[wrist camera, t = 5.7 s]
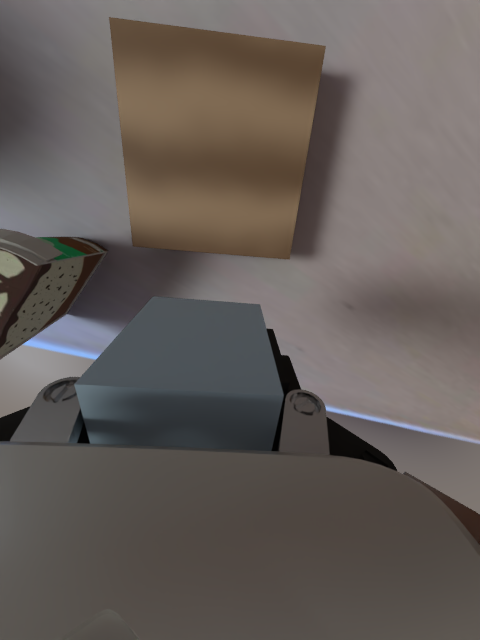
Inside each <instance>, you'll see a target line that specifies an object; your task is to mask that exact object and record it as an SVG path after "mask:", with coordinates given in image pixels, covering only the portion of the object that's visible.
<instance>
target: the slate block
mask: <svg viewBox="0 0 480 640" xmlns="http://www.w3.org/2000/svg"><path fill="white" fill-rule="evenodd" d="M74 386H75V389H76V393H77V397H78V400H79V404H80V408H81V411H82V415H83V419H84V422H85V426H86V430H87V433H88V437H89V441H90V444H113V445H140V446H165V447H190V448H213V449H235V450H257V451H271V450H272V446H273V441H274V437H275V432H276V428H277V424H278V419H279V415H280V410H281V406H282V401H283V397H284V395H283V391H282V387H281V383H280V379H279V375H278V372H277V368H276V364H275V360H274V356H273V353H272V349H271V345H270V341H269V337H268V333H267V330H266V326H265V322H264V318H263V314H262V310H261V307H260V304H247V303H234V302H221V301H208V300H195V299H182V298H169V297H156V296H153V297H152V298H151V299H150V300H149V301H148V303H147V304H146V305H145V306H144V307H143V308H142V309H141V310H140V311H139V313H138V314H137V315H136V316H135V317H134V318H133V319H132V320H131V321H130V323H129V324H128V325H127V326H126V327H125V328H124V329H123V330H122V332H121V333H120V334H119V335H118V336H117V337H116V338H115V339H114V340H113V342H112V343H111V344H110V345H109V346H108V347H107V348H106V349H105V350H104V352H103V353H102V354H101V355H100V356H99V357H98V358H97V359H96V361H95V362H94V363H93V364H92V365H91V366H90V367H89V369H88V370H87V371H86V372H85V373H84V374H83V375H82V376H81V377H80V378H79V379H78V381H77V382H76V383H75V384H74Z"/></svg>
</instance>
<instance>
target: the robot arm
mask: <svg viewBox="0 0 480 640" xmlns="http://www.w3.org/2000/svg"><path fill="white" fill-rule="evenodd" d="M266 330H267V333H268V337H269V341H270V345H271V349H272V353H273V356H274V360H275V364H276V368H277V372H278V375H279V379H280V383H281V387H282V391H283V395H284V397H283V401H282V406H281V410H280V415H279V419H278V424H277V428H276V432H275V437H274V441H273V446H272V450H271V451H257V450H235V449H213V448H190V447H165V446H140V445H113V444H90V441H89V437H88V433H87V430H86V426H85V422H84V419H83V415H82V411H81V408H80V404H79V400H78V397H77V393H76V389H75V386H74V384H75V383H76V382H77V381H78V379H79V378H80V377H68V378H63V379H60V380H57V381H54V382H52V383H50V384H49V385H47V386H46V387H44V388H43V389H42V390H41V391H40V392H39V393H38V395H37V397H36V399H35V400H34V402H33V403H32V405H31V406H30V407H27V408H25V409H22V410H19V411H17V412H14V413H12V414H9V415H7V416H4V417H1V418H0V640H480V514H478V513H476V512H475V511H473V510H472V509H469V508H468V507H466V506H464V505H463V504H461V503H459V502H458V501H456V500H454V499H452V498H450V497H449V496H447V495H445V494H443V493H442V492H440V491H438V490H436V489H435V488H433V487H431V486H430V485H428V484H426V483H424V482H423V481H421V480H419V479H417V478H416V477H414V476H412V475H410V474H409V473H407V472H404V474H402V473H400V472H397V469H396V467H395V466H394V464H393V462H392V461H391V460H390V459H389V458H388V457H387V456H386V455H385V454H383V453H382V452H381V451H379V450H378V449H376V448H375V447H373V446H372V445H370V444H368V443H367V442H365V441H364V440H362V439H360V438H359V437H357V436H356V435H354V434H353V433H351V432H350V431H348V430H347V429H345V428H343V427H342V426H340V425H339V424H337V423H336V422H334V421H333V420H331V419H329V418H328V417H326V408H325V405H324V403H323V401H322V400H321V399H320V398H319V397H318V396H317V395H315V394H314V393H312V392H309V391H306V390H301V388H300V385H299V382H298V380H297V377H296V374H295V371H294V369H293V366H292V363H291V360H290V358H289V356H286V355H281V353H280V350H279V347H278V344H277V341H276V337H275V334H274V331H273V329H266Z"/></svg>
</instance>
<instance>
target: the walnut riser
mask: <svg viewBox="0 0 480 640" xmlns="http://www.w3.org/2000/svg"><path fill="white" fill-rule="evenodd" d="M109 20H110V29H111V39H112V49H113V59H114V68H115V78H116V88H117V97H118V107H119V117H120V126H121V136H122V146H123V156H124V165H125V175H126V185H127V194H128V204H129V214H130V224H131V233H132V243H133V246H134V247H146V248H158V249H170V250H182V251H194V252H206V253H218V254H230V255H242V256H254V257H266V258H278V259H290V253H291V247H292V241H293V235H294V229H295V223H296V217H297V212H298V206H299V200H300V194H301V188H302V182H303V176H304V170H305V165H306V159H307V153H308V147H309V141H310V135H311V129H312V124H313V118H314V112H315V106H316V100H317V94H318V88H319V82H320V77H321V71H322V65H323V59H324V53H325V47H326V46H322V45H314V44H307V43H299V42H291V41H284V40H276V39H269V38H261V37H254V36H246V35H239V34H231V33H224V32H216V31H209V30H201V29H194V28H186V27H179V26H171V25H163V24H156V23H148V22H141V21H133V20H126V19H118V18H111V17H109Z"/></svg>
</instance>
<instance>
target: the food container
mask: <svg viewBox="0 0 480 640" xmlns="http://www.w3.org/2000/svg"><path fill="white" fill-rule="evenodd" d="M107 252H108V250H106V249H105V248H103V247H102V246H100V245H99V244H97V243H94V242H91V241H89V240H86V239H83V238H77V237H36V238H35V237H32V236H29V235H26V234H23V233H20V232H16V231H11V230H6V229H0V359H2V358H3V357H4V356H6V355H7V354H9V353H10V352H12V351H13V350H15V349H16V348H18V347H19V346H21V345H22V344H24V343H25V342H26V341H28V340H29V339H31V338H32V337H34V336H35V335H37V334H38V333H40V332H41V331H43V330H44V329H45V328H47V327H48V326H50V325H51V324H53V323H54V322H56V321H57V320H59V319H60V318H62V317H63V316H64V315H66V314H67V313H68V311H69V310H70V308H71V307H72V305H73V304H74V302H75V301H76V299H77V297H78V296H79V294H80V293H81V291H82V290H83V288H84V287H85V285H86V284H87V282H88V281H89V279H90V278H91V276H92V275H93V273H94V272H95V270H96V269H97V267H98V266H99V264H100V262H101V261H102V259H103V258H104V256H105V255H106V253H107Z"/></svg>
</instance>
